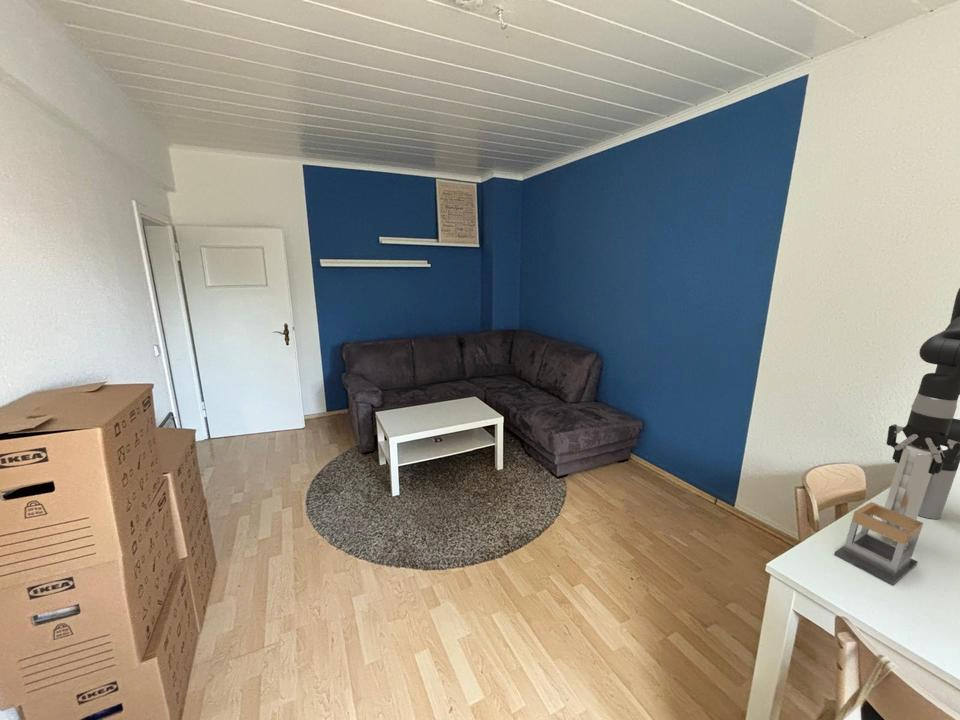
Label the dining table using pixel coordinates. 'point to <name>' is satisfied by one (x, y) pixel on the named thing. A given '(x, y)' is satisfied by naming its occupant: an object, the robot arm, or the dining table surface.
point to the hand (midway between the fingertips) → (914, 467)
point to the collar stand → (881, 543)
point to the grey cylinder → (910, 482)
